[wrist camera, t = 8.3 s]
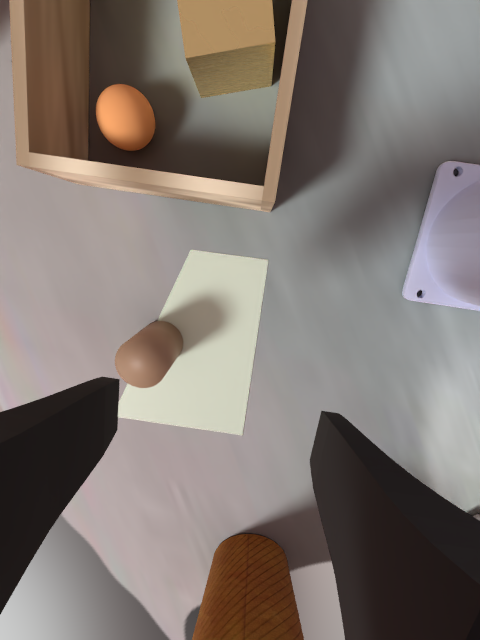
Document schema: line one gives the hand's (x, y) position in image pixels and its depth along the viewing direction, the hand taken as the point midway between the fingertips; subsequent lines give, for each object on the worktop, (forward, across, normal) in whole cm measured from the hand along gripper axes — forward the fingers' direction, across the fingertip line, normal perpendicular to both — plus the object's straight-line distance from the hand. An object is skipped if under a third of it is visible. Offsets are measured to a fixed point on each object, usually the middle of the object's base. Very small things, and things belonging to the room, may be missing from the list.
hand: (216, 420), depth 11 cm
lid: (+11, +5, +2) cm, 12 cm away
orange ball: (+10, +8, -12) cm, 17 cm away
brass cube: (+10, +2, -16) cm, 19 cm away
